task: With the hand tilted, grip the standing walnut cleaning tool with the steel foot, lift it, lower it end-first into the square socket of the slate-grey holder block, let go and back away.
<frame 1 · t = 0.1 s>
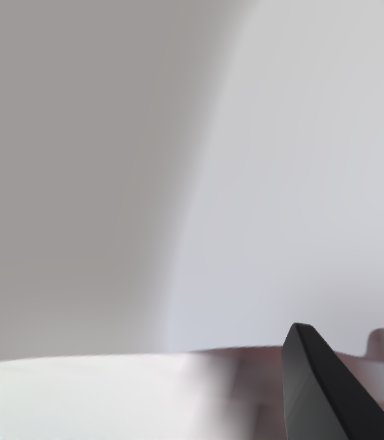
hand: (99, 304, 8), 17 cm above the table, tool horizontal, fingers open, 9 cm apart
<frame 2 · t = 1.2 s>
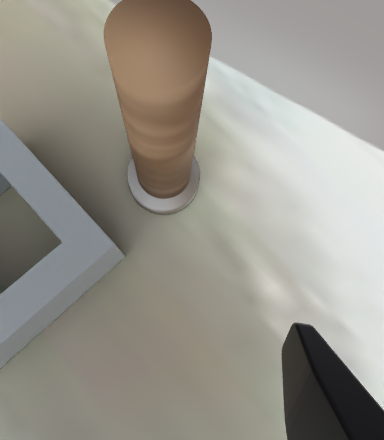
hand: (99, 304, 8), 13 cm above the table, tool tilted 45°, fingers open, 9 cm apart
tool holder: (7, 252, 22), on the table
cleaning tool: (164, 181, 23), on the table
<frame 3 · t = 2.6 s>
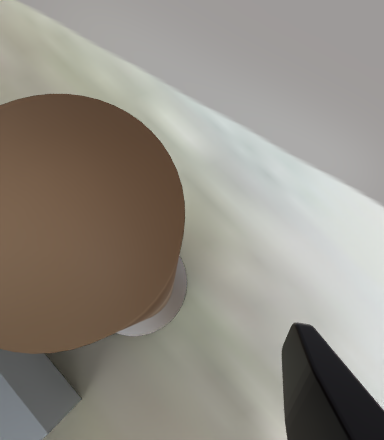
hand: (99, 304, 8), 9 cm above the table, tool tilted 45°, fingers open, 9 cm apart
cleaning tool: (138, 284, 17), on the table
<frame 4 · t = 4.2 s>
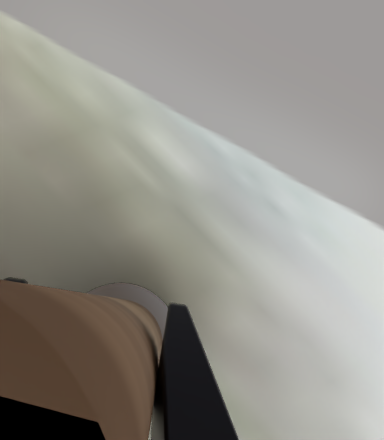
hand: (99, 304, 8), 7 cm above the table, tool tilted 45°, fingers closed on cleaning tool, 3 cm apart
cleaning tool: (122, 341, 14), on the table, touching gripper
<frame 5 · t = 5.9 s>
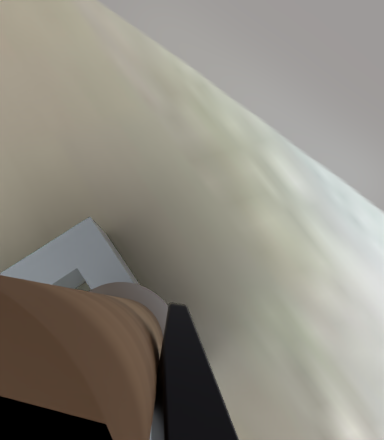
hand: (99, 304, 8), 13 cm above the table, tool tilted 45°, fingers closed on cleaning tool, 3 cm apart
tool holder: (77, 353, 20), on the table
cleaning tool: (123, 340, 14), point 7 cm above the table, touching gripper
when the fingers open (8 cm above the table, at t = 7.7 s): cleaning tool drops 2 cm, resting in tool holder.
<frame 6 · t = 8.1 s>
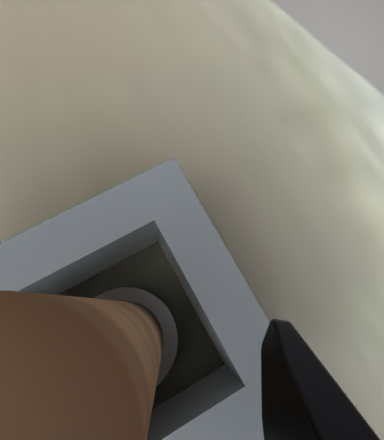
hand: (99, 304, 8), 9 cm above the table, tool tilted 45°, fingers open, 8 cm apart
tool holder: (128, 336, 16), on the table
cleaning tool: (128, 338, 16), resting in tool holder
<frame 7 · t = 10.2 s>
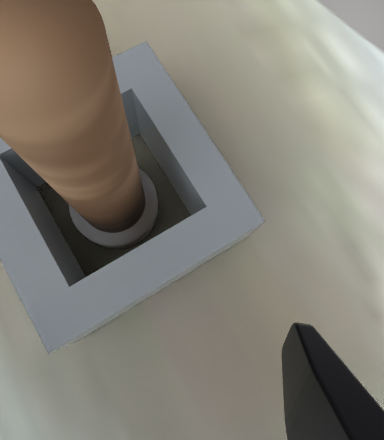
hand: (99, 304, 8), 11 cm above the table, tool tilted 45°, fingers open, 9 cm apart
tool holder: (117, 207, 20), on the table
cleaning tool: (117, 209, 20), resting in tool holder
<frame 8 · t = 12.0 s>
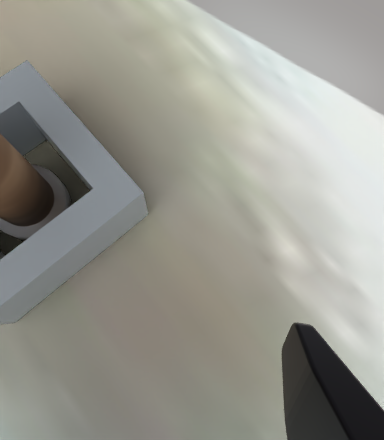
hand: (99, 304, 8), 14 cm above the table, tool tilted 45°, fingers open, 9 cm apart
tool holder: (35, 205, 22), on the table
cleaning tool: (35, 206, 22), resting in tool holder
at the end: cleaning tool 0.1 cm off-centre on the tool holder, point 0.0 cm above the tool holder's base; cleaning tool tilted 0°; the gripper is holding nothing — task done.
